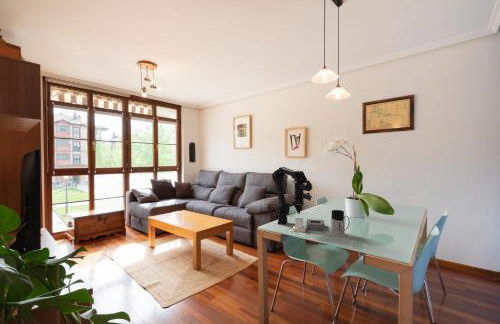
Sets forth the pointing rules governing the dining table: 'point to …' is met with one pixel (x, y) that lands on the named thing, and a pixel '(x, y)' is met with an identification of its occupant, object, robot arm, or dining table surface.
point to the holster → (299, 229)
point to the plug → (298, 222)
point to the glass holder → (338, 223)
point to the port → (315, 224)
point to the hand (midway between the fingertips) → (299, 212)
